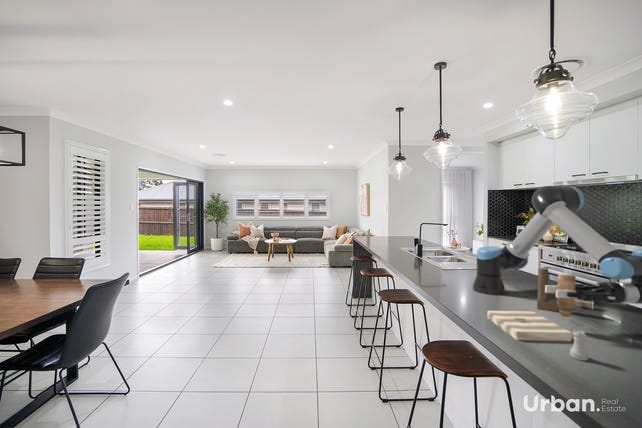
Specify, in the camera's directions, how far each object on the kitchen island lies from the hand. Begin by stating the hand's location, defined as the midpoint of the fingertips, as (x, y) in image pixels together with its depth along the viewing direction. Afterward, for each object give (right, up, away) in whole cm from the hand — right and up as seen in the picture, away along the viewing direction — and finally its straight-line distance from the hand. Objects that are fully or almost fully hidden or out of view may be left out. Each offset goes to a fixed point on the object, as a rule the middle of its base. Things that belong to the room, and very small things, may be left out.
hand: (551, 291), depth 111 cm
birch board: (-9, -14, +1) cm, 17 cm away
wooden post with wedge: (+16, -14, +21) cm, 30 cm away
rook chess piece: (-7, -15, -20) cm, 26 cm away
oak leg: (+5, -9, 0) cm, 11 cm away
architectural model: (+33, -14, +24) cm, 44 cm away
